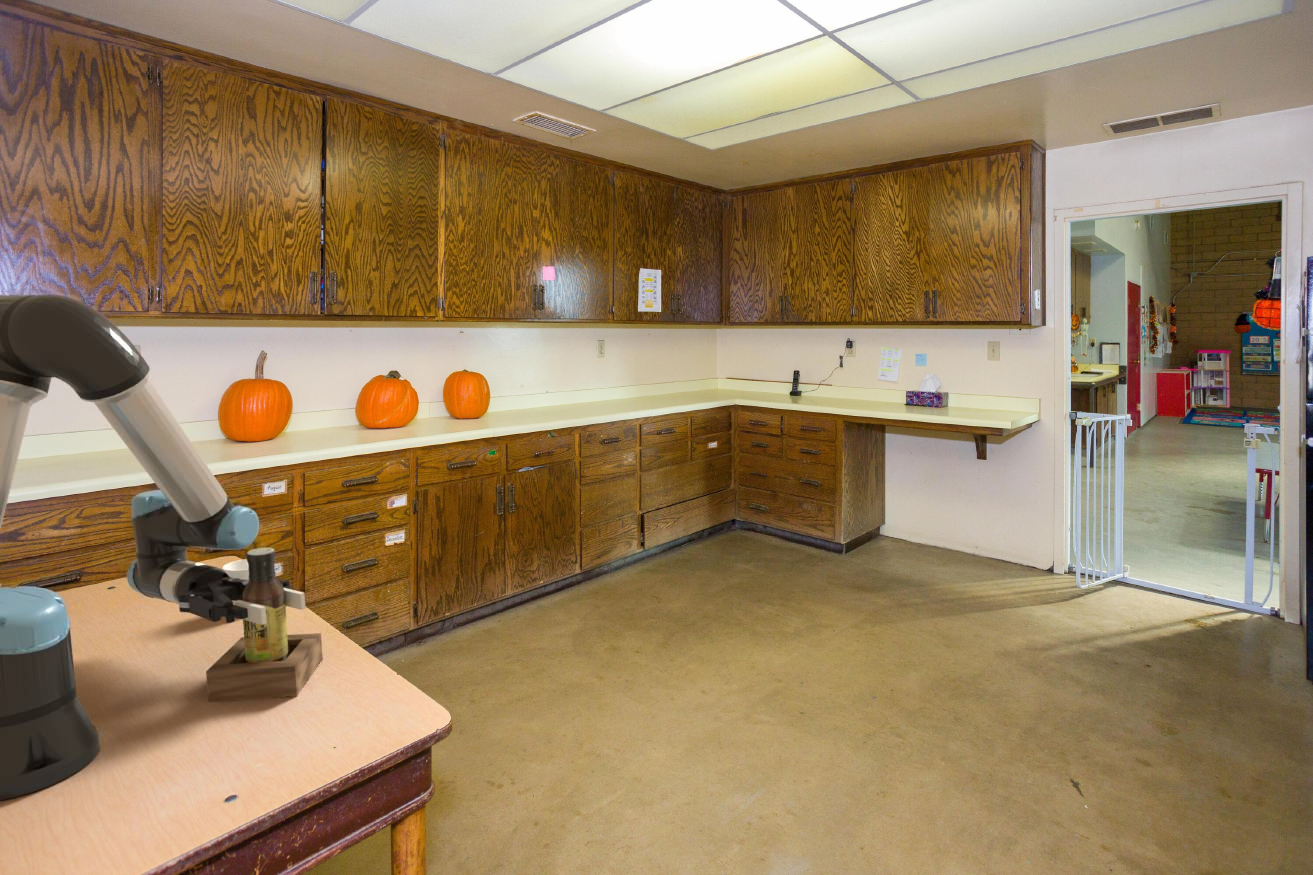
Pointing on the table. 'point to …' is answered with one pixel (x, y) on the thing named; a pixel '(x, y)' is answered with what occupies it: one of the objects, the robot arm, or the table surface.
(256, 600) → the sauce bottle
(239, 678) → the crate
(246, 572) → the white cup
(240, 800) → the table surface
